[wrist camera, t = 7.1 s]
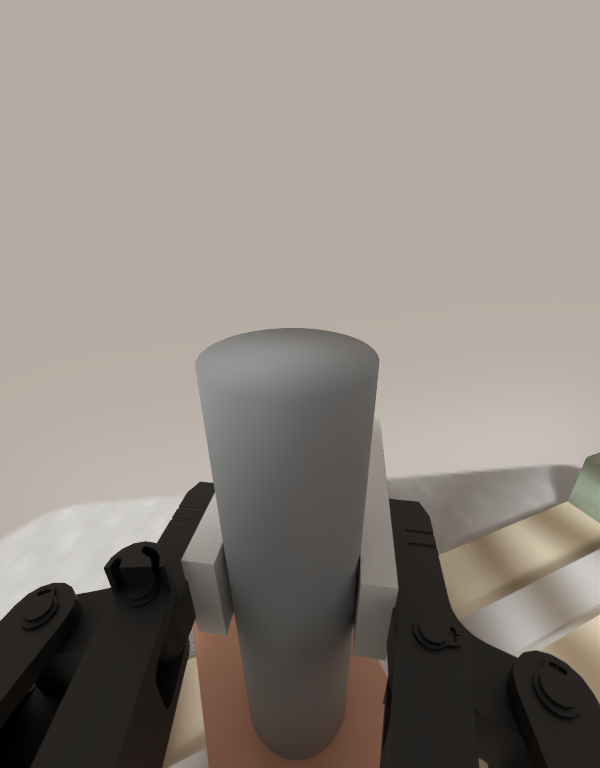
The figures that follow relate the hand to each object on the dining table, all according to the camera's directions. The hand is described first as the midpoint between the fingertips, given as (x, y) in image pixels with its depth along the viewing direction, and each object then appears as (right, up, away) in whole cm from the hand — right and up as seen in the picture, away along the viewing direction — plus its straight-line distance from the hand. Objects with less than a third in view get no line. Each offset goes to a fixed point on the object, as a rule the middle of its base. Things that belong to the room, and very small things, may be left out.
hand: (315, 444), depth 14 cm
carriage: (-1, -12, 0) cm, 12 cm away
